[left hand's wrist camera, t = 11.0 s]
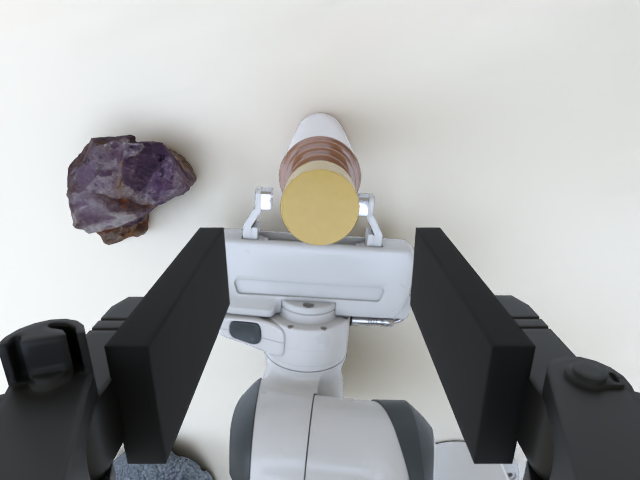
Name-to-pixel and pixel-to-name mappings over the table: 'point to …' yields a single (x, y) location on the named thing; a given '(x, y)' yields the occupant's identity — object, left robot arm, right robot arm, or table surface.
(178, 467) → the koala plush
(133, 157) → the rock
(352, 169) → the bottle
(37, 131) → the table surface
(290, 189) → the cap
